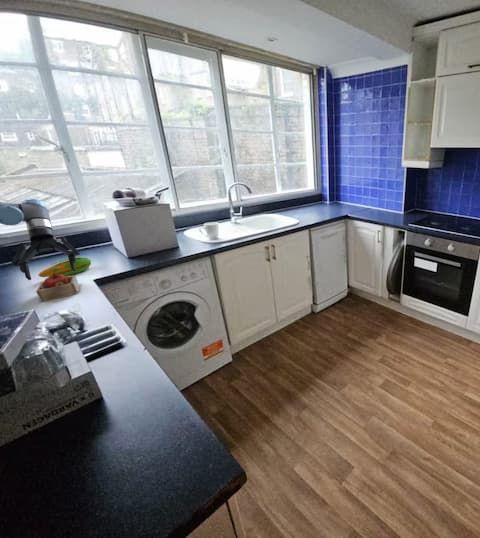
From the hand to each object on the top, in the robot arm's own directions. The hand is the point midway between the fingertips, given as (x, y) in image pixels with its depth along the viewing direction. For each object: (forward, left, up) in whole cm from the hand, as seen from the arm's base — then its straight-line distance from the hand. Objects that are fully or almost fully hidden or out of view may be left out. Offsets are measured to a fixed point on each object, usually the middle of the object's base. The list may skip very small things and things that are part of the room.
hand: (51, 273), depth 122 cm
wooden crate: (0, 0, -9) cm, 9 cm away
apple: (0, 0, -8) cm, 8 cm away
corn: (+1, +25, -9) cm, 27 cm away
